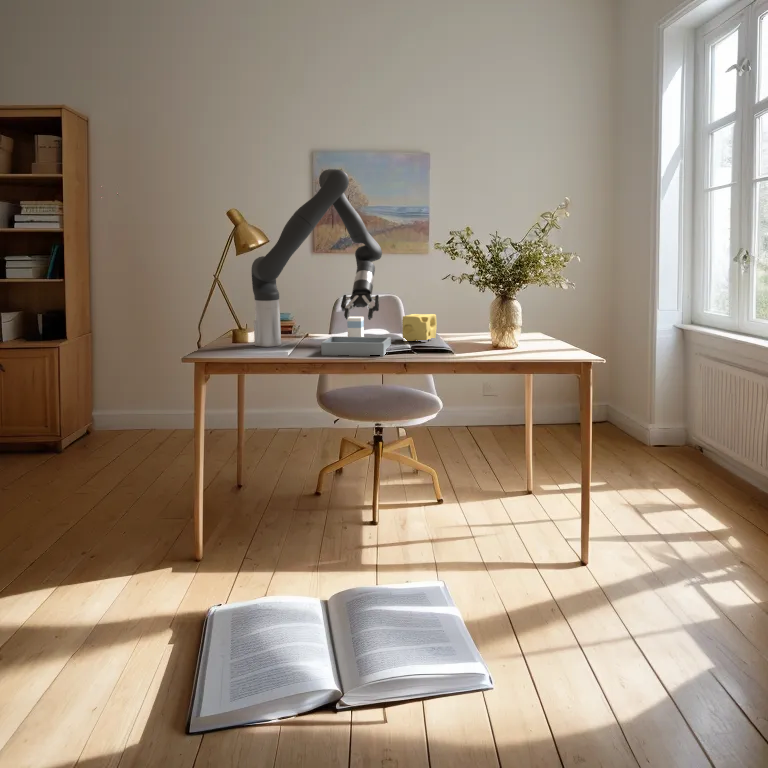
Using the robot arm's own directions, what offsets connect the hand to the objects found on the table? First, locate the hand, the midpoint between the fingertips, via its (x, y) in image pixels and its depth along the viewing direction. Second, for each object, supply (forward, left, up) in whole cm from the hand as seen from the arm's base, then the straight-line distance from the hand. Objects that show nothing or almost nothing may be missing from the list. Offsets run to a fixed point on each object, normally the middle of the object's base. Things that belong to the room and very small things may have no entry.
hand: (358, 318), depth 306 cm
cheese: (+21, +15, -10) cm, 28 cm away
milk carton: (0, -4, -10) cm, 11 cm away
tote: (+3, -17, -10) cm, 20 cm away
